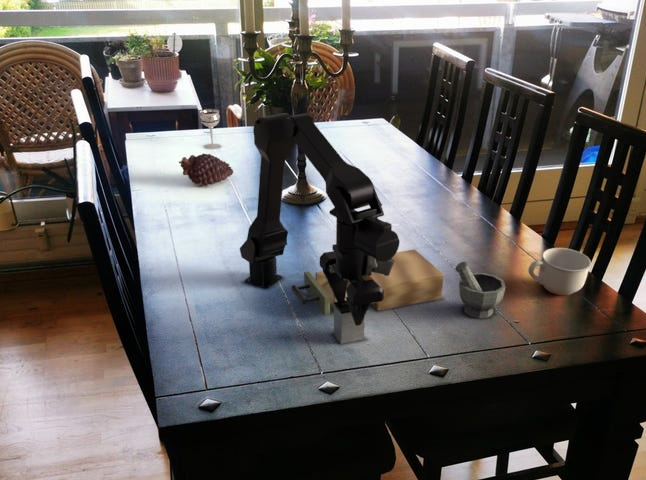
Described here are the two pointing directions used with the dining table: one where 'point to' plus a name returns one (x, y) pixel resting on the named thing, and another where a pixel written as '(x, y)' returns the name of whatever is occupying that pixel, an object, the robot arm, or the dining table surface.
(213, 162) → the pine cone
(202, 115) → the wineglass
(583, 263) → the teacup
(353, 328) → the metal box
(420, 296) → the cabinet
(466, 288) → the mortar and pestle
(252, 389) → the dining table surface
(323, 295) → the drawer
